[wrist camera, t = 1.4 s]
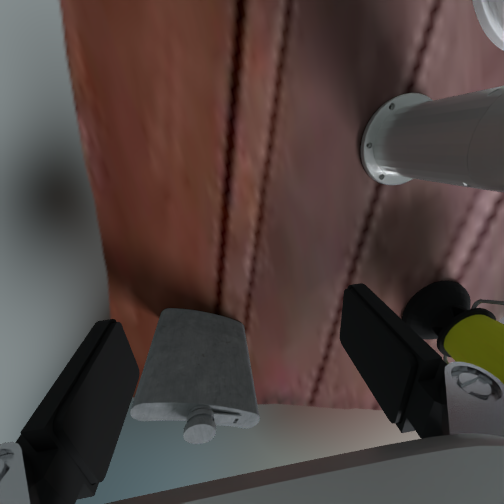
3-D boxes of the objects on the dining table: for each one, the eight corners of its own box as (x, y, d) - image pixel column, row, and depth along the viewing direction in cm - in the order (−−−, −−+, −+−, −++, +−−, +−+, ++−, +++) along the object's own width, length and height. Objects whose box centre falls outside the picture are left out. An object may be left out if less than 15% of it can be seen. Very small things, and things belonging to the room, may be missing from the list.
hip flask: (158, 320, 43) (120, 444, 25) (164, 302, 42) (126, 420, 24) (240, 335, 48) (257, 451, 30) (247, 319, 46) (270, 430, 28)
